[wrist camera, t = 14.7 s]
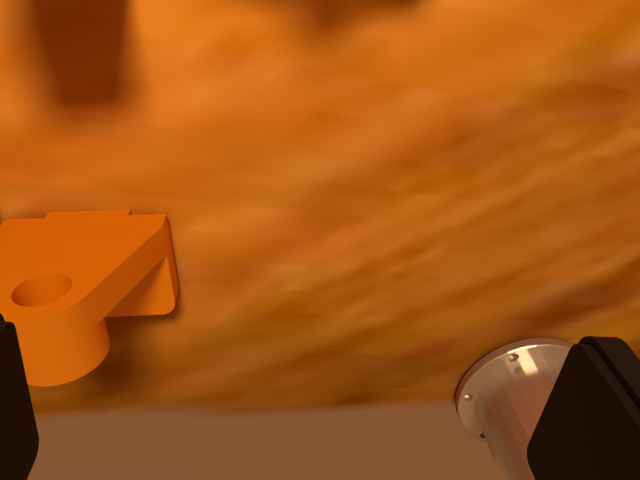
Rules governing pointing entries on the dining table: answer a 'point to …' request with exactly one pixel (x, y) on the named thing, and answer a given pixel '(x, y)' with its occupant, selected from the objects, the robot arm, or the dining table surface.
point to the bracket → (81, 284)
